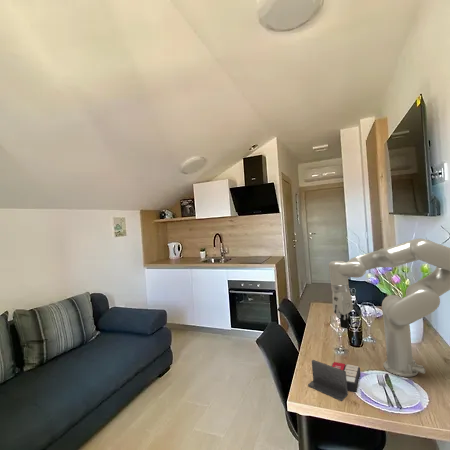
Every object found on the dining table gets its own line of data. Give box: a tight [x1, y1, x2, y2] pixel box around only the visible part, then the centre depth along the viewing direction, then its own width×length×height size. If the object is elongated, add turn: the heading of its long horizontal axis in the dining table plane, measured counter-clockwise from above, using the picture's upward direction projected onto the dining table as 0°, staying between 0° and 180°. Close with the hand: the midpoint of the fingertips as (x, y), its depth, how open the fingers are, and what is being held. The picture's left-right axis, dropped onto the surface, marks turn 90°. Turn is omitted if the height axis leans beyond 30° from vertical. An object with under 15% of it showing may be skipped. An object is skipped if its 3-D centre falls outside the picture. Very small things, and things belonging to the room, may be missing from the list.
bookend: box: [307, 359, 349, 402], centre depth 108 cm, size 14×5×9 cm, turn 40°
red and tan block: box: [331, 361, 361, 393], centre depth 115 cm, size 11×4×15 cm
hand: (344, 327), depth 126 cm, fingers closed
